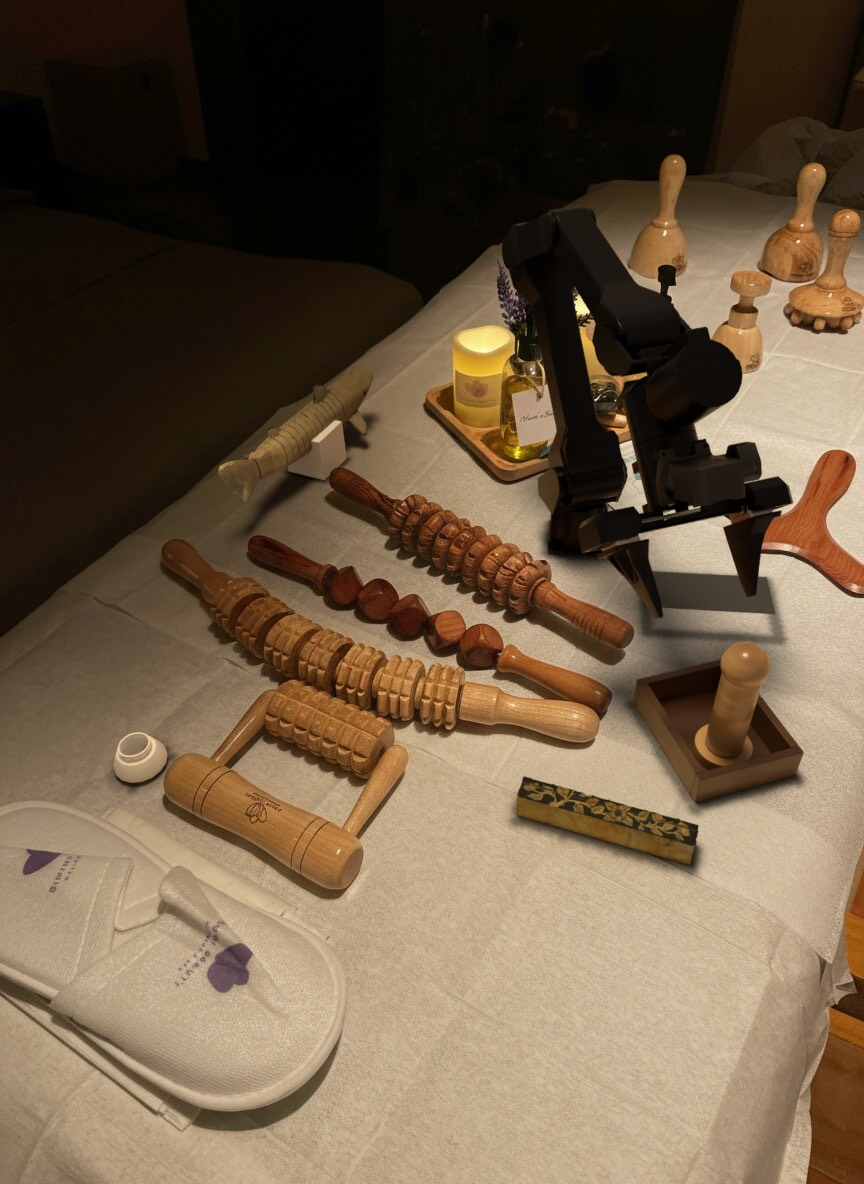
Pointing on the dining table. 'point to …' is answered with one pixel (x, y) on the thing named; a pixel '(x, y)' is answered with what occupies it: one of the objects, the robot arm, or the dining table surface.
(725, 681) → the wooden pestle
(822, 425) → the dining table surface
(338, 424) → the wood carving
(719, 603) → the mat
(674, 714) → the box
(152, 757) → the lidless jar
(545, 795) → the decorative block
